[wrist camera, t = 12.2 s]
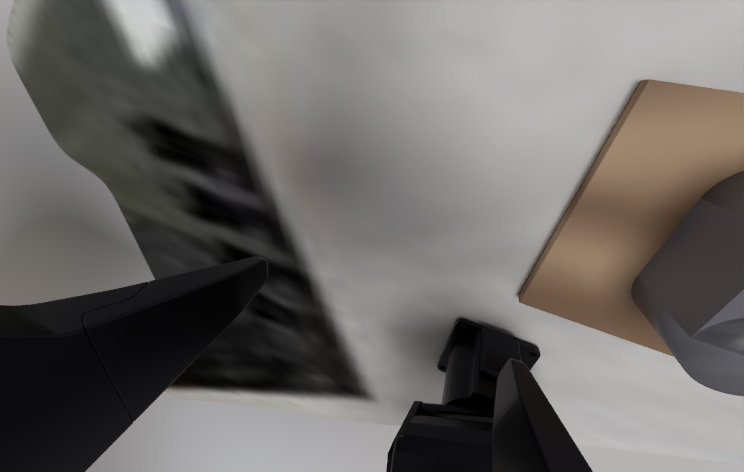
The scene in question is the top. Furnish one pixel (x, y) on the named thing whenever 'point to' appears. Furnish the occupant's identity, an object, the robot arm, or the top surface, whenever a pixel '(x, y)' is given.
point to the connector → (702, 289)
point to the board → (636, 204)
